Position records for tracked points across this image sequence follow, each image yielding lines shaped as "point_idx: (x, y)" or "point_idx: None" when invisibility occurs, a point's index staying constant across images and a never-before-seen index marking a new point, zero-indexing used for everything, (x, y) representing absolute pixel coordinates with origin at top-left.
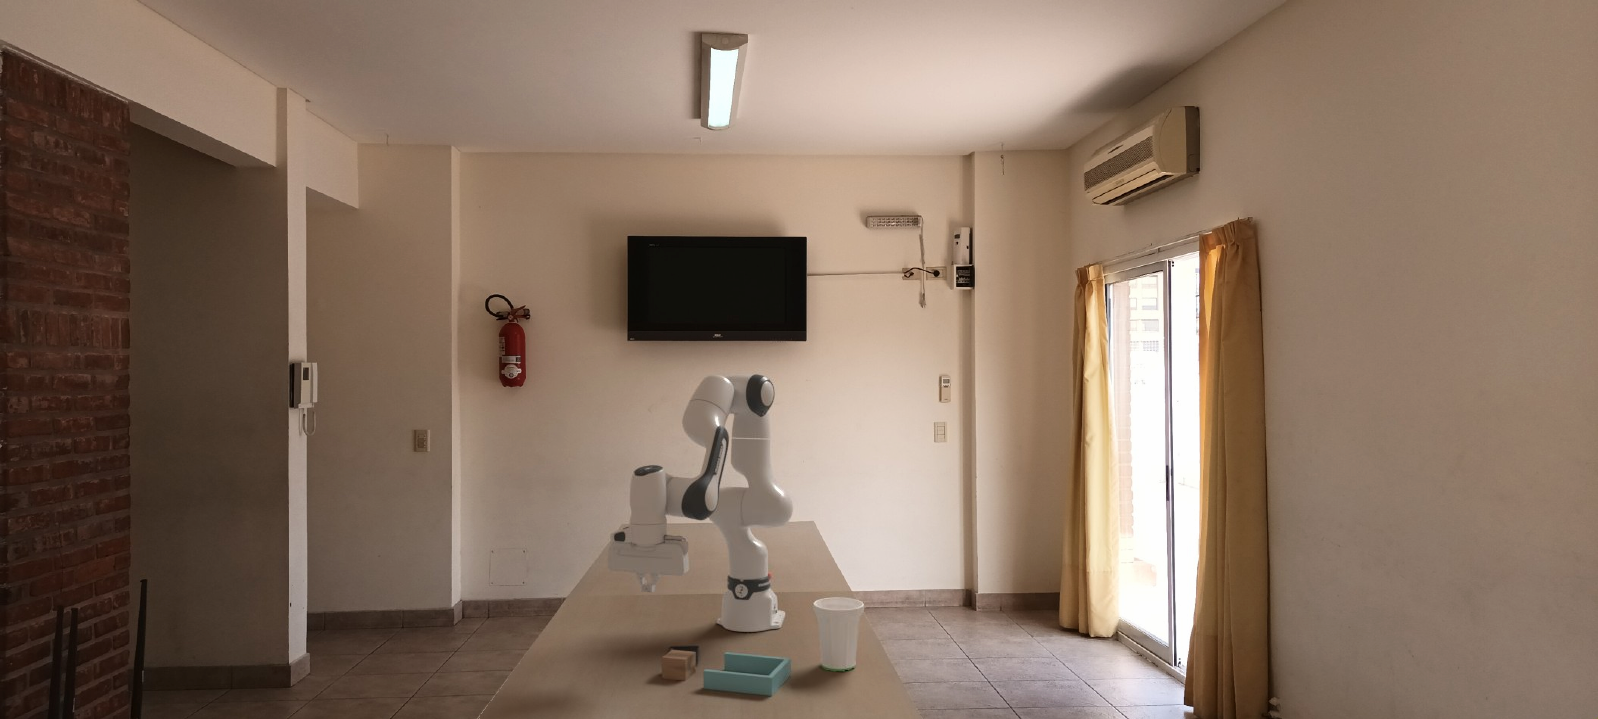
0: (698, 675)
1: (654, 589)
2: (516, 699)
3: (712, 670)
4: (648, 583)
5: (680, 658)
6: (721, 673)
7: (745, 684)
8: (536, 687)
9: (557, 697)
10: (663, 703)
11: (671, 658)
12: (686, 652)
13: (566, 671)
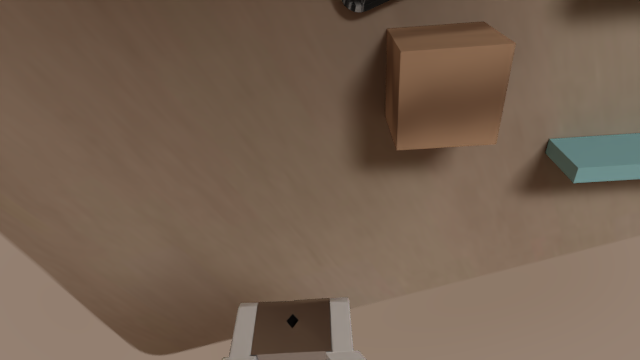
0: None
1: (349, 311)
2: (139, 330)
3: (605, 170)
4: (283, 357)
5: (472, 139)
6: (637, 177)
7: None
8: (112, 275)
9: (208, 302)
10: (462, 262)
11: (436, 147)
12: (475, 64)
13: (67, 166)
